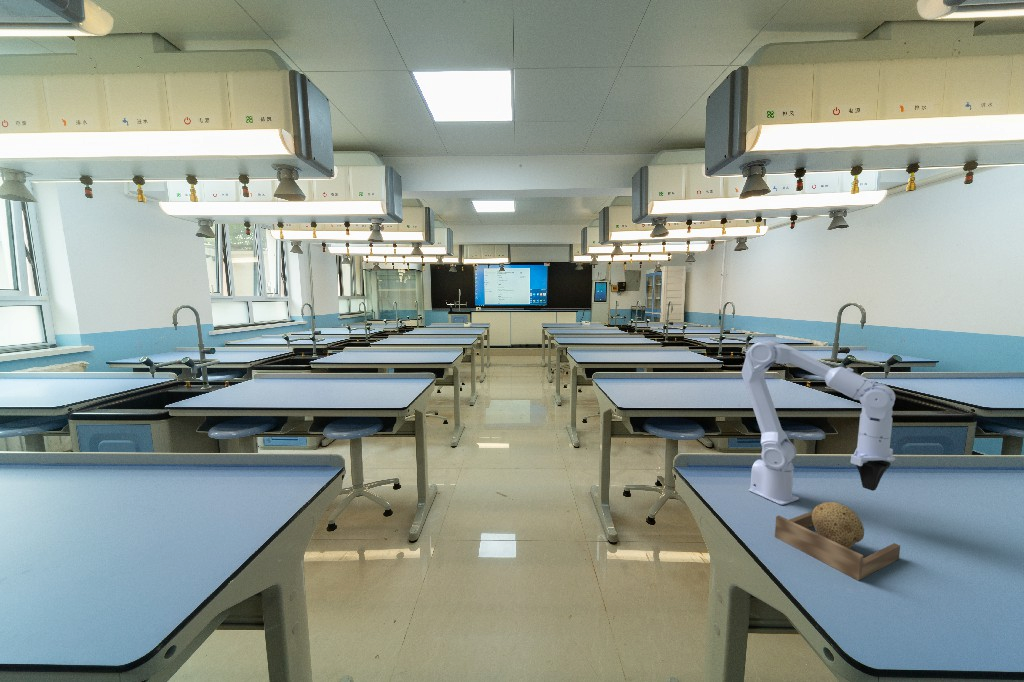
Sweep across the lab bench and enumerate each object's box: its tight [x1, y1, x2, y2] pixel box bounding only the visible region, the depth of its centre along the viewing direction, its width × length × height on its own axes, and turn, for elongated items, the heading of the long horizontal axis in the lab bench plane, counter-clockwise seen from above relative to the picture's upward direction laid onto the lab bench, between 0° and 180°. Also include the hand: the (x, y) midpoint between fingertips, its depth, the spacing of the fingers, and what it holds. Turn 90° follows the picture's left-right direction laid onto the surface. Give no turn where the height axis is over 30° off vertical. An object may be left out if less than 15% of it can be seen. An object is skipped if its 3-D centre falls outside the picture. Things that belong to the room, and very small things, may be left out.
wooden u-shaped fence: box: [774, 510, 901, 582], centre depth 87 cm, size 16×16×5 cm
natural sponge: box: [812, 501, 865, 549], centre depth 87 cm, size 9×9×10 cm
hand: (869, 488), depth 95 cm, fingers closed
